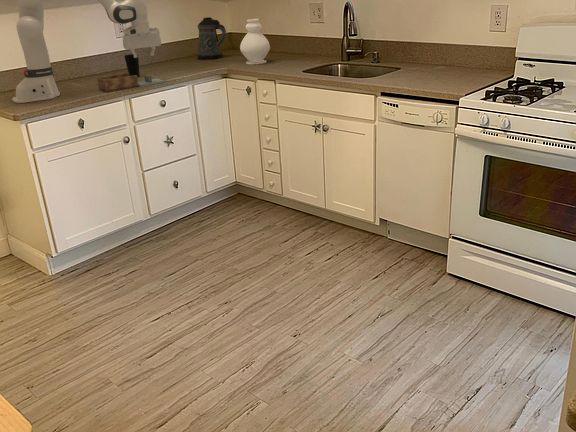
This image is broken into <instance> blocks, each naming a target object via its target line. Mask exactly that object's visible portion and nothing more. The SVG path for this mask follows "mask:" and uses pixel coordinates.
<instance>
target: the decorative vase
mask: <svg viewBox="0 0 576 432" xmlns="http://www.w3.org/2000/svg"><path fill="white" fill-rule="evenodd" d="M259 21H260V19H259V18H250V19H249V18H248V19H246V22H247V23H246V25H245V29H246V30H247V31H248V32H247V33H246V34H245V36H244V37H243V39H242V40H241V42H240V45H239V50H240V52H241V54H242V55H243V56H244V57H245V58H246V59H247V61H246V62H245V64H246V65H260V64H262V65H263V64H266V63H267V60H265V58H266V56H267V55H268V54H269V52H270V49H271V45H270V42H269V40H268V38H267V37H266V36H265V35H264V34H263V33H262V32H261V31H260V30H261V29H262V27H263V26H262V24H261V23H260V22H259Z"/></svg>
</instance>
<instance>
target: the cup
mask: <svg viewBox="0 0 576 432" xmlns="http://www.w3.org/2000/svg"><path fill="white" fill-rule="evenodd" d="M136 54H137V55H138V56H139V54H138V53H136ZM124 60H125V64H126V69H127V73H129V76H133V75H137V78H140V77H141V76H140V62H139V60H140V59H139V57H138V58H134V55H133V53H130V54H125V55H124Z"/></svg>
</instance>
